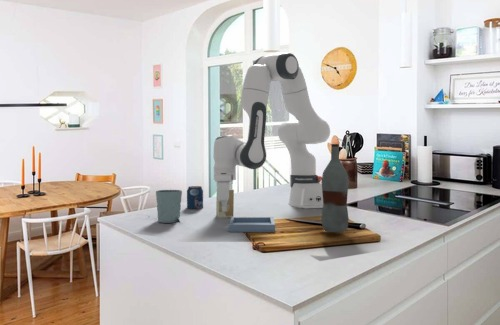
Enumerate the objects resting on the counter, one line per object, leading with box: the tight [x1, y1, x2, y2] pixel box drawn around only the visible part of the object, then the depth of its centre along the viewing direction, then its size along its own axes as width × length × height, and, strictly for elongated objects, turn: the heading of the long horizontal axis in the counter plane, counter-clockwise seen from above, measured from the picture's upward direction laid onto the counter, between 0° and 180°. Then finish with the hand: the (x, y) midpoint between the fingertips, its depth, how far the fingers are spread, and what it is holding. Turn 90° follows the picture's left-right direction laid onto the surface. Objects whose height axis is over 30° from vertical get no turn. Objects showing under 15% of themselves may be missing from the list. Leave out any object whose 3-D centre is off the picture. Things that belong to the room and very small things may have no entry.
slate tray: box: [227, 216, 276, 233], centre depth 156 cm, size 16×16×2 cm
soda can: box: [186, 185, 204, 211], centre depth 187 cm, size 7×7×12 cm
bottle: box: [320, 143, 350, 233], centre depth 150 cm, size 9×9×30 cm
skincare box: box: [215, 188, 235, 219], centre depth 173 cm, size 6×4×12 cm
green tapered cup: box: [155, 189, 183, 224], centre depth 172 cm, size 10×10×12 cm
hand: (225, 209), depth 173 cm, fingers closed on skincare box, 5 cm apart
